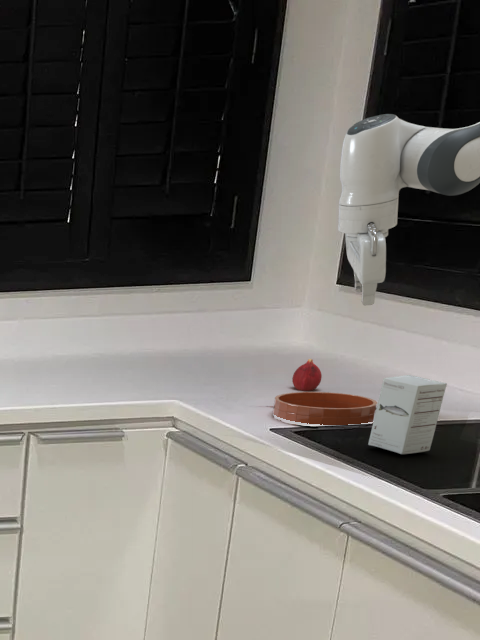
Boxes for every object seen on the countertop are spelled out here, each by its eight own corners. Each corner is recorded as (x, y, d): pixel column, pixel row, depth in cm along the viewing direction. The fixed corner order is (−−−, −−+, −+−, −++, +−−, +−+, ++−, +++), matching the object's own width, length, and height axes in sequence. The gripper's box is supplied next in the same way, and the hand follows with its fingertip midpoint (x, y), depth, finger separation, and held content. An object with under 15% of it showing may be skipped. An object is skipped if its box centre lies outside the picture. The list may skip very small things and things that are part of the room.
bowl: (379, 415, 242) (383, 396, 240) (366, 432, 228) (370, 411, 227) (282, 407, 252) (284, 389, 251) (263, 423, 238) (266, 404, 237)
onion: (321, 397, 262) (329, 361, 259) (294, 396, 263) (301, 361, 259) (313, 392, 267) (320, 356, 264) (286, 391, 268) (292, 356, 265)
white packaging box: (366, 445, 216) (381, 377, 212) (395, 441, 219) (411, 374, 214) (401, 455, 210) (418, 385, 205) (431, 451, 212) (448, 382, 208)
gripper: (398, 226, 192) (393, 310, 197) (380, 204, 208) (376, 282, 214) (354, 232, 194) (350, 314, 200) (340, 209, 211) (337, 286, 217)
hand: (364, 297), depth 207 cm, fingers open, 8 cm apart
